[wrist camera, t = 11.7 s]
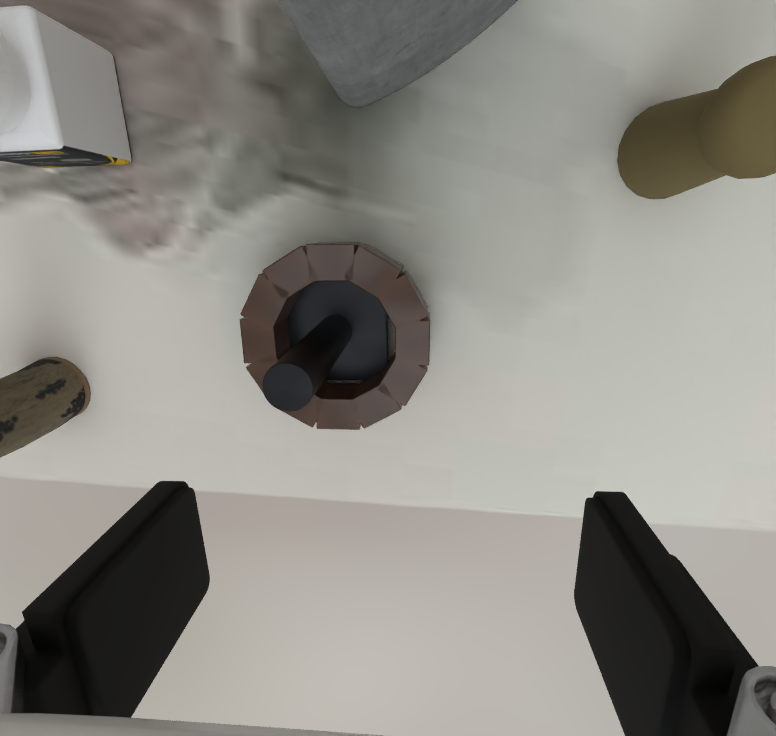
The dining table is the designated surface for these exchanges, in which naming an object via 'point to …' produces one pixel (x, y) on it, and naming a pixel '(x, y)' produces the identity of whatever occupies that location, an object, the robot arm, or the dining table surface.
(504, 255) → the dining table surface
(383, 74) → the hip flask
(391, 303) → the hoop
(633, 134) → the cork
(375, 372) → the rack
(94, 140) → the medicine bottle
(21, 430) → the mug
